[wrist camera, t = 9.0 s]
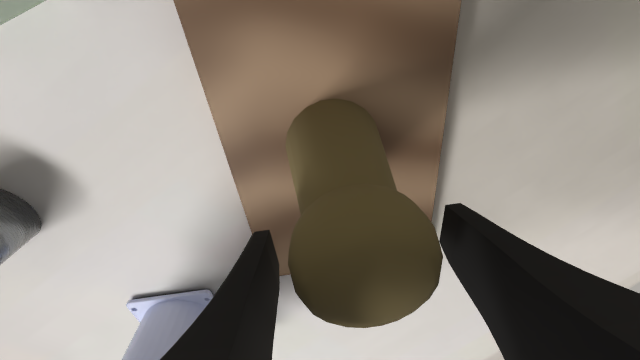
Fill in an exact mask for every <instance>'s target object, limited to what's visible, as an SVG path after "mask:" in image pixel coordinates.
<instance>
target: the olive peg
mask: <svg viewBox="0 0 640 360" xmlns="http://www.w3.org/2000/svg"><path fill="white" fill-rule="evenodd" d="M285 147H286V151H287V156H288V161H289V165H290V170H291V174H292V179H293V183H294V188H295V192H296V196H297V201H298V205H299V210H300V214H301V217H300V218H299V220H298V221H297V223H296V225H295V228H294V230H293V233H292V236H291V241H290V247H289V254H288V267H289V270H290V274H291V278H292V281H293V285H294V289H295V292H296V294H297V295H298V296H299V298H300V299H301V300H302V302H303V303H304V304H305V305H306V307H307V308H308V309H309V310H310V311H311V312H312V314H313V315H315V316H317V317H319V318H321V319H322V320H324V321H326V322H329V323H333V324H337V325H340V326H345V327H355V328H368V327H375V326H382V325H385V324H388V323H391V322H394V321H397V320H400V319H401V318H403V317H405V316H407V315H409V314H411V313H412V312H414V311H415V310H417V309H418V308H419V307H420V306H421V305H422V304H423V303H425V302H426V301H427V300H428V299H429V298H430V297H431V295H432V294H433V292H434V291H435V289H436V287H437V286H438V283H439V278H440V272H441V265H442V259H443V255H442V251H441V247H440V244H439V240H438V237H437V234H436V231H435V227H434V226H433V224H432V223H431V221H430V220H429V218H428V217H427V215H426V214H425V213H424V212H423V211H422V210H421V209H420V208H419V207H418V206H417V205H416V204H415V203H414V202H413V201H412V200H411V199H410V198H408V197H407V196H406V195H404V194H402V193H400V192H398V191H397V188H396V185H395V182H394V179H393V176H392V173H391V169H390V166H389V163H388V160H387V157H386V153H385V150H384V147H383V144H382V141H381V138H380V134H379V131H378V129H377V126H376V123H375V121H374V119H373V118H372V117H371V115H370V114H369V113H368V112H367V111H366V110H365V109H364V108H363V107H361V106H359V105H357V104H356V103H354V102H352V101H347V100H342V99H329V100H322V101H318V102H316V103H314V104H312V105H310V106H308V107H306V108H305V109H304V110H303V111H302V112H301V113H300V114H299V115H297V116H296V117H295V118H294V120H293V122H292V124H291V126H290V128H289V130H288V132H287V138H286V145H285Z"/></svg>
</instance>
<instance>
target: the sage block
mask: <svg viewBox="0 0 640 360" xmlns="http://www.w3.org/2000/svg"><path fill="white" fill-rule="evenodd" d="M44 1H46V0H0V25H2V24H4V23H5V22H7V21H9V20H11V19H13V18H15V17H16V16H18V15H20V14H22V13H24V12H26V11H27V10H29V9H31V8H33V7H35V6H37V5H38V4H40V3H42V2H44Z"/></svg>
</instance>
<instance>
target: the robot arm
mask: <svg viewBox="0 0 640 360" xmlns="http://www.w3.org/2000/svg"><path fill="white" fill-rule="evenodd" d="M439 242H440V244H441V246H442V249H443V251H444V253H445V255H446V258H447V260H448V262H449V264H450V266H451V267H452V269H453V270H454V272H455V274H456V275H457V277H458V279H459V280H460V282H461V283H462V285H463V287H464V288H465V290H466V291H467V293H468V295H469V296H470V298H471V299H472V301H473V302H474V304H475V306H476V307H477V309H478V310H479V312H480V314H481V315H482V317H483V319H484V320H485V322H486V324H487V326H488V327H489V329H490V331H491V333H492V335H493V337H494V339H495V341H496V343H497V345H498V347H499V349H500V351H501V353H502V355H503V357H504V359H505V360H640V293H637V292H634V291H632V290H629V289H627V288H624V287H622V286H619V285H617V284H614V283H612V282H609V281H607V280H604V279H602V278H599V277H597V276H595V275H592V274H590V273H588V272H586V271H583V270H581V269H579V268H577V267H575V266H573V265H570V264H568V263H566V262H564V261H562V260H560V259H558V258H556V257H554V256H552V255H550V254H548V253H546V252H544V251H542V250H540V249H538V248H536V247H535V246H533V245H531V244H529V243H527V242H525V241H524V240H522V239H520V238H518V237H516V236H515V235H513V234H511V233H510V232H508V231H506V230H504V229H503V228H501V227H499V226H498V225H496V224H494V223H493V222H491V221H489V220H488V219H486V218H485V217H483V216H481V215H480V214H478V213H476V212H475V211H473V210H471V209H470V208H468V207H466V206H465V205H463V204H461V203H457V204H450V205H445V211H444V217H443V223H442V229H441V235H440V241H439ZM278 296H279V261H278V258H277V254H276V251H275V247H274V244H273V240H272V237H271V233H270V230H263V231H256V232H254V233H253V234H252V236H251V238H250V240H249V242H248V243H247V245H246V247H245V249H244V250H243V252H242V254H241V255H240V257H239V259H238V261H237V262H236V264H235V265H234V267H233V268H232V270H231V272H230V273H229V275H228V276H227V278H226V279H225V281H224V282H223V284H222V285H221V287H220V288H219V289H218V291H217V292H216V294H215V295H214V296H213V294H212V292H211V291H209V290H199V291H192V292H184V293H177V294H170V295H163V296H155V297H148V298H141V299H134V300H129V301H128V302H127V304H126V306H127V308H128V309H129V310H130V311H131V313H132V314H133V315H134V316H135V317H136V319H137V320H138V321H139V322H140V324H139V326H138V328H137V330H136V332H135V334H134V336H133V338H132V340H131V342H130V344H129V346H128V348H127V350H126V352H125V354H124V356H123V358H122V360H272V350H273V340H274V331H275V322H276V314H277V305H278Z"/></svg>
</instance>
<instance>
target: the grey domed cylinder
mask: <svg viewBox="0 0 640 360" xmlns="http://www.w3.org/2000/svg"><path fill="white" fill-rule="evenodd" d="M40 228H41V221H40V218H39V216H38V214H37V212H36V211H35V210H34V209H33V208H32V207H31V206H30V205H29V204H28V203H27V202H25V201H24V200H23V199H21V198H19V197H18V196H16V195H14V194H12V193H10V192H7V191H4V190H2V189H0V265H1V264H2V263H3V262H4V261H6V260H7V259H8V258H9V257H10V256H11V255H13V254H14V253H15V252H16V251H17V250H18V249H20V248H21V247H22V246H23V245H24V244H25V243H27V242H28V241H29V240H30V239H31V238H33V237H34V236H35V235H36V234H37V233H38V232H39V231H40Z"/></svg>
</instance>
